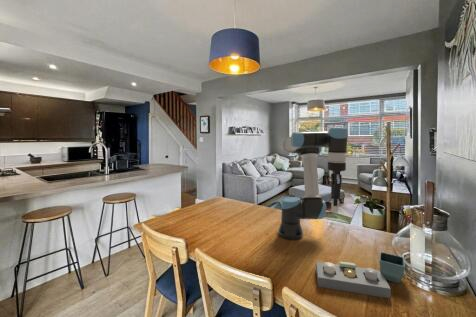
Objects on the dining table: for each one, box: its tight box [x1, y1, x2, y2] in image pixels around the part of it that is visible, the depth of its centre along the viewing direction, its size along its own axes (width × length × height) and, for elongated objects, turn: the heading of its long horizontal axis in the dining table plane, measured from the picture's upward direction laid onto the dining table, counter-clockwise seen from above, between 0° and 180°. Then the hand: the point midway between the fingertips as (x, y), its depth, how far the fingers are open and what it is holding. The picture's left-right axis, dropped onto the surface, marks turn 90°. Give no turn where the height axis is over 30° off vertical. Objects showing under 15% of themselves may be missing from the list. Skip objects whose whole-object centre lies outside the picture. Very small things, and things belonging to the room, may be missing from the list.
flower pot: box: [379, 251, 406, 284], centre depth 94 cm, size 9×9×9 cm
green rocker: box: [339, 261, 357, 269], centre depth 96 cm, size 6×3×2 cm, turn 74°
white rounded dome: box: [365, 267, 378, 281], centre depth 89 cm, size 4×4×5 cm
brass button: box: [344, 268, 356, 278], centre depth 92 cm, size 4×4×5 cm
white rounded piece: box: [324, 261, 335, 275], centre depth 94 cm, size 4×4×5 cm
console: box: [315, 261, 392, 299], centre depth 92 cm, size 26×12×4 cm, turn 74°
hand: (334, 211), depth 100 cm, fingers closed
